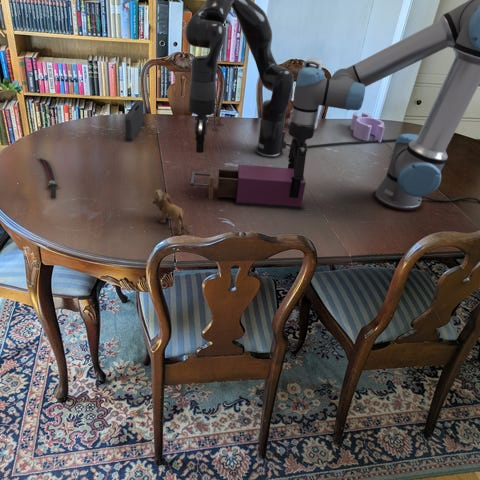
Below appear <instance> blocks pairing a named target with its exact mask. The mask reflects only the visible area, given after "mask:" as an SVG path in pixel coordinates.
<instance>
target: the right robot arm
mask: <svg viewBox="0 0 480 480" xmlns="http://www.w3.org/2000/svg"><path fill="white" fill-rule="evenodd" d="M447 48H450V49H452V50H453V52H454V58H453V61H452V63H451V66H450V67H449V69H448V72H447V74H446V76H445V78H444V80H443V82H442V84H441V86H440V88H439V90H438V93H437V95H436V97H435V99H434V101H433V103H432V106H431V108H430V110H429V111H428V114H427V117H426V119H425V121H424V123H423V125H422V127H421V129H420V132H419V133H418V134H415V133H414V134H413V133H401V134H399V135H398V136H397V138H396V139H397V141H394V148H393V151H392V153H391V157H390V161H389V164H388V169H387V172H386V175H385V177H384V179H383V180H382V181H381V182H380V184H379V186H378V187H377V188H376V190H375V194H374V197H375V200H376V201H377V202H378V203H380V204H381V205H383V206H385V207H386V208H387V207H388V208H389V209H392V210H395V211H401V212H402V211H403V212H412V211H416V210H418V209H419V208H421V205H422V199H426V200H431V201H433V202H434V201H435V202H440V203H442V202H443V203H445V202H446V203H449V202H455V201H458V200H462V201H463V200H474V201H477V202H478V203H479V204H480V198H478V197H473V196H462V197H459V196H458V197H455V198H451V199H443V198H442V199H441V198H435V197H430V196H428V195H431V194H432V193H434V192H435V191H436V190H437V189H438V188H439V187H440V185H441V183H442V170H443V168H444V166H445V164H446V162H447V161H448V157H449V156H448V153H447V148H448V146H449V145H450V143H451V141H452V138H453V136H454V134H455V132H456V131H457V129H458V127H459V125H460V123H461V120H462V119H463V117H464V115H465V113H466V111H467V109H468V107H469V105H470V104H471V101H472V99H473V97H474V95H475V94H476V91H477V89H478V87H479V85H480V0H467V1H465V2H463V3H462V4H460V5H458V6H456V7H454V8H453V9H451V10H449V11H448V12H446V13H444V14H441V16H440V18H439V20H438V21H436V22H434V23H432V24H430V25H429V26H426V27H424V28H423V29H420V30H419V31H417V32H415V33H413V34H411V35H409V36H407V37H404V38H403V39H401V40H399V41H397V42H395V43H393V44H392V45H390V46H387V47H386V48H384V49H382V50H380V51H377V52H376V53H374V54H372V55H370V56H368V57H366V58H363V59H361V60H360V61H358V62H356V63H355V64H352V65H351V66H348V67H347V68H345V67H344V68H340V69H339V68H338V69H337V70H336V71H335V72H334V73H333V74H332V76H331V78H327V77H326V75H325V74H326V72H325V71H324V70H323V69H316V68H317V67H310V66H309V67H307V68H304V67H303V68H301V69H299V70H298V73H297V78H296V83H295V89H294V96H293V102H292V108H293V111H292V110H290V111H289V115H291V114H292V115H291V122H290V126H288V127H289V128H288V134H289V136H290V137H292V139H291V143H290V145H291V147H290V146H289V152H288V156H287V158H288V164H287V168H291V169H294V176H293V177H291V179H292V183H291V189H290V195H289V198H298V195H299V190H300V184H301V181H303V176H304V175H305V167H306V157H307V151H308V148H307V146H308V143H307V141H306V140H310V139H312V138H314V135H315V130H316V129H315V125H314V124H315V123H316V120H317V114H318V115H319V113H318V107H319V108H320V106H322V107H327V108H334V109H335V108H336V109H342V110H346V111H359V110H361V109H362V106H363V103H364V100H365V94H366V88H367V87H368V86H371V85H372V84H375V83H377V82H378V81H380V80H382V79H385V78H387V77H389V76H391V75H393V74H395V73H398V71H399V72H400V71H402V70H404V69H406V68H407V67H409V66H412V65H414V64H417V63H418V62H420V61H422V60H424V59H426V58H428V57H431V56H432V55H434V54H437V53H439V52H441V51H443V50H445V49H447Z"/></svg>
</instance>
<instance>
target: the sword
mask: <svg viewBox="0 0 480 480" xmlns="http://www.w3.org/2000/svg"><path fill="white" fill-rule="evenodd" d="M40 161H41V162H42V163H43V165H44V166H45V169H46V173H47V176H48V185H47V188H50V198H56V197H57V189H56V188H57V187H59V185H58V184H57V183H56V180H55V176H54V172H53V169H52V167H51V164H50V163H49V161H48V160H46V159H43V158H40Z"/></svg>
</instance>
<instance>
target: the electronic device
mask: <svg viewBox="0 0 480 480" xmlns="http://www.w3.org/2000/svg"><path fill="white" fill-rule="evenodd" d="M323 63H324V62H323V60H320V59H318V58H316V57H315V58H308V59H306V60H305V61H304V63H303V68H307V67H310V65H315V66H316V67H315V68H316V69H321V70H323ZM319 110H320V106H319V107H318V114H317V120H316V123H315V124H314V125H315V130H316V129H317V128H318V124H319V112H320V111H319ZM291 111H293V107H292V108H291ZM289 115H290V116H289V118H288V124H287V125H288V127H290V122H291V115H292V114H289Z"/></svg>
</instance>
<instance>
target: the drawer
mask: <svg viewBox="0 0 480 480" xmlns="http://www.w3.org/2000/svg"><path fill="white" fill-rule="evenodd" d="M196 176H204V177H209V183H198V182H197V183H196V182H195V181H196ZM214 177H215V166H214V165H210V169H209V173H205V172H196V171H195V170H193V171H191V174H190V179H189V180H190V181H189V187H190V188H193V187H205V188H206V187H207V188H208V199H209V200H213V197H214V195H213V194H214V180H215V178H214ZM237 189H238V169H226V168H219V169H218V179H217V197H218V198H233V199H236V198H237Z"/></svg>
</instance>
